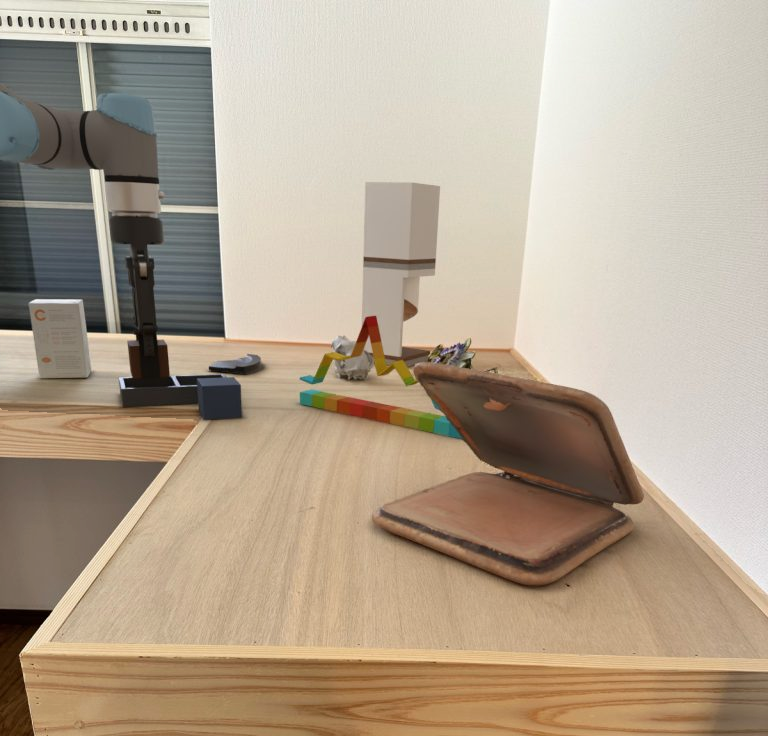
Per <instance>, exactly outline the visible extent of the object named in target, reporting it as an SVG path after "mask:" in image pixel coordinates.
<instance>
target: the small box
mask: <svg viewBox="0 0 768 736" xmlns="http://www.w3.org/2000/svg"><path fill="white" fill-rule="evenodd" d="M27 304H28V310H29V315H30V316H29V317H30V323H31V329H32V335H33V343H34V349H35V357H36V362H37V363H36V364H37V370H38V376H39V379H70V378H71V379H75V378H76V379H78V378H79V379H80V378H81V379H82V378H85V379H86V378H89V375H90V374H91V373H92V364H91V363H92V362H91V355H90V345H89V338H88V330H87V323H86V315H85V307H84V306H85V305H84V300H83V299H68V298H67V299H62V298H61V299H58V298H56V299H55V298H54V299H53V298H52V299H51V298H50V299H49V298H48V299H47V298H45V299H43V298H40V299H39V298H36V299H33V300H31V301H29V302H28V303H27Z"/></svg>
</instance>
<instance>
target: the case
mask: <svg viewBox="0 0 768 736" xmlns="http://www.w3.org/2000/svg"><path fill="white" fill-rule="evenodd" d="M412 373H413V377H414V379H417V380H418V384H419V385H420V386H421V387H422V388H423V389H424V391H425V392H426V394H427V396H428V397H429V399H431V398H432V400H433V401H434V402H435V404H436V405H437V406H438V408H439V409H440V410H439V411H440V412H441V413H442V414H443V416H446V418H447V420H448V421H449V422H450V423H451V425H452V426H453V427H454V428H455V430H456V431H457V432H458V433H459V435H460V436H461V437H462V441H463V442H464V443H465V444H466V445H467V446H468V448H469V450H471V451H472V452H473V454H474V455H475V457H477V458H478V459H479V460H480V461H481V462H483V463H485V464H487V465H489V466H491V467H493V468H494V469H498V470H499V471H503V472H497V473H490V472H485V471H475V472H471V473H467V474H464V475H462V476H459V477H456V478H453V479H449V480H447V481H445V482H442V483H439V484H437V485H433V486H431V487H429V488H428V487H427V488H425V489H423V490H420V491H418V492H415V493H412V494H410V495H407V496H404V497H402V498H398V499H396V500H393V501H391V502H388V503H385V504H383V505H382V506H380V507H378V508H377V509H375V510H373V512H372V515H371V520H372V522H373V523H374V525H376V526H377V527H379V528H380V529H382V530H384V531H387V532H390V533H392V534H394V535H397V536H400V537H402V538H405V539H407V540H410V541H412V542H415V543H418V544H420V545H422V546H424V547H428V548H430V549H432V550H435V551H437V552H440V553H442V554H445V555H447V556H450V557H451V558H455V559H457V560H459V561H462V562H464V563H467V564H469V565H471V566H473V567H477V568H479V569H481V570H484V571H486V572H489V573H492V574H494V575H496V576H499V577H502V578H504V579H505V580H508V581H511V582H513V583H517V584H520V585H526V586H544V585H548V584H552V583H554V582H556V581H559V580H560V579H561V578H562V577H564V576H566V575H567V574H569V573H571V571H573V570H575V569H576V568H577V567H579V566H581V565H582V564H583V563H585V562H586V561H588V560H589V559H590V558H592V557H594V556H595V555H597V554H599V553H600V552H601V551H603V550H605V549H607V548H608V547H610V546H611V545H612V544H614V543H616V542H618V541H619V540H621V539H622V538H625V536H627V535H630V533H631V532H632V531H633V530H634V528H635V522H634V520H633V519H632V518H631V517H630V516H628V515H626V513H624V511H621V510H619V509H618V508H615V507H614V504H619V505H625V506H626V505H631V506H632V505H639V504H641V503H642V502H643V501H644V498H645V494H644V491H643V488H642V485H641V484H640V481H639V479H638V476H637V474H636V471H635V469H634V467H633V464H632V462H631V459H630V456H629V454H628V451H627V449H626V446H625V444H624V441H623V439H622V436H621V433H620V432H619V429H618V426H617V424H616V422H615V419H614V416H613V413H612V411H611V410H610V407H609V406H608V405H607V404H606V402H604V401H603V400H602V399H601V398H599V397H598V396H596V395H595V394H593V393H591V392H589V391H585V390H582V389H578V388H574V387H570V386H565V385H560V384H554V383H550V382H543V381H538V380H532V379H528V378H521V377H516V376H510V375H506V374H501V373H498V374H496V373H494V372H491V371H488V372H486V370H479V369H472V368H471V369H468V368H461V367H456V366H449V365H444V364H438V363H432V361H430V362H428V361H425V362H420V363H417V364H414V366H413V369H412Z"/></svg>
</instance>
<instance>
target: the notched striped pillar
mask: <svg viewBox="0 0 768 736" xmlns="http://www.w3.org/2000/svg"><path fill="white" fill-rule="evenodd" d="M440 194H441V186H440V185H434V184H426V183H418V182H399V181H397V182H393V181H390V182H387V181H385V182H383V181H365V185H364V217H363V218H364V220H363V221H364V222H363V223H364V225H363V260H362V297H361V299H362V301H361V303H362V304H361V305H362V306H361V326H362V325H363V323H364V320H365V317H369V316H376V317H377V322H378V327H379V332H380V337H381V342H382V347H383V352H384V356H385V361H386V366H388V365H390V364H391V363H392V362H395V361H400V360H403V361H404V363H405V365H406V366H407V367H410V366H413V365H414V366H415V365H416V364H417V363H420V362H428V358H429V357H428V355H430V354H431V350H428V349H420V348H414V347H407V346H403V332H404V322H406V321H408V320H410V319H412V318H414V317H415V316H416V315H418V312H419V298H420V279H421V278H422V277H434V276H436V262H437V259H436V258H437V249H438V248H437V245H438V244H437V243H438V232H439V231H438V229H439V228H438V227H439V211H440V196H441V195H440ZM364 350H366V351H368V353H369V354H370V355H371V356H372V357H373V360H374V356H373V352H372V347H371V342H370V337H368V339H367V342H366V344H365V347H364ZM368 363H370V360H369V361H368ZM374 364H375V362H374Z"/></svg>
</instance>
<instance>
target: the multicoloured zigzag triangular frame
mask: <svg viewBox="0 0 768 736" xmlns="http://www.w3.org/2000/svg"><path fill="white" fill-rule="evenodd" d="M368 337H370V342H371V347H372V352H373V356H374V362H375V363H374V366H375V371H376V375H377V376H376V377H382V376H387V375H389V374H390V373H392V372H393V371H394V370H395V371H396V373H397V374H398V376H399V377H400V379H401V381H402V382H403V384H404V385H405V386H406V387H409V386H413V385H416V384H419V382H418V380H417V379H416V378H415V376H414V375H413V374H412V372H411V371H410V369H409V368H408V366H406V365H405V363H404V361H403V360H400V361H395V362H392V363H391V364H390V365H386V361H385V356H384V352H383V347H382V342H381V337H380V332H379V327H378V322H377V317H376V316H369V317H365V320H364V323H363V325H362V324H361V328H360V330H359V333H358V336H357V338H356V340H355V341H356V343H355V346H354V349H353V351H352V354H351V355H350V356H345V355H342V354H339V353H337V352H334V351H333V352H327V353H324V355H323V357H322V359H321V361H320V364H319V366H318V368H317V371H316V373H315V375H312V374H308V375H305V376H299V381H302V382H305V383H306V384H310V385H316V384H320V383H323V382H324V380H325V377H326V376H327V374H328V371H329V369H330V367H331V365H332V363H333V361H334V360H336V361H341V360H346V359H350V358H354V357H358V356H361V354H362V352H363V349H364V347H365V344H366V342H367V339H368ZM430 401H431V402H432V405H433V407H434V409H435V410H437V411H440V409H439V408H438V406H437V405H436V404H435V402H434V401H433V400H432V398H430ZM299 405H304V406H308V407H313V408H316V409H322V410H326V411H331V412H335V413H340V414H345V415H349V416H354V417H358V418H362V419H363V418H364V419H368V420H372V421H378V422H382V423H386V424H392V425H395V426H401V427H404V428H410V429H415V430H418V431H419V430H420V431H423V432H428V433H433V434H437V435H442V436H446V437H452V438H457V439H462V437H461V436H460V435H459V433H458V432H457V431H456V430H455V428H454V427H453V426H452V425H451V423H450V422H449V421H448V420H447V418H446V416H445V415H441V414H437V413H431V412H425V411H420V410H416V409H411V408H406V407H402V406H396V405H391V404H387V403H386V404H385V403H382V402H375V401H371V400H365V399H360V398H356V397H351V396H346V395H341V394H336V393H331V392H327V391H323V390H317V389H313V388H311V389H307V390H303V391H299ZM462 440H463V439H462Z"/></svg>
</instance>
